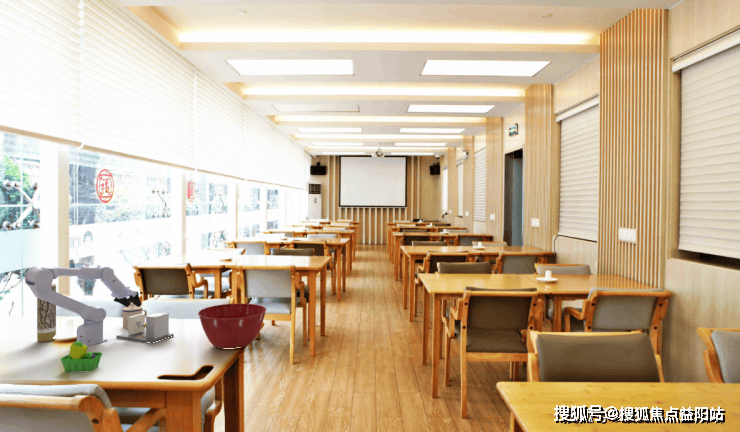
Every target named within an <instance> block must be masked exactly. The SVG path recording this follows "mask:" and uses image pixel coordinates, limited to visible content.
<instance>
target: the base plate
mask: <svg viewBox="0 0 740 432" xmlns="http://www.w3.org/2000/svg"><path fill="white" fill-rule="evenodd" d="M171 336H174V333H171V332H169V335H167V336H164V337H161V338H158V339H155V340H153V339H147V338H146V329H145V331H143V332H139V333H136V334H133V335H130V334H128V332H125V333H121V334H116V339H119V340H125V341H131V342H137V341H140V342H139V343H144V342H150V343H153V342H156V341H159V340H162V339H165V338H168V337H171ZM171 338H172V337H171ZM168 339H169V338H168ZM165 340H166V339H165ZM162 341H163V340H162ZM159 342H160V341H159ZM150 343H149V344H150ZM156 343H157V342H156ZM153 344H154V343H153Z"/></svg>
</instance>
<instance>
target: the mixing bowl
mask: <svg viewBox="0 0 740 432" xmlns="http://www.w3.org/2000/svg"><path fill="white" fill-rule="evenodd" d="M266 312H267V308H266V307H265V306H263V305H260V304H254V303H242V302H241V303H223V304H218V305H217V304H215V305H212V306H207V307H204V308H202V309H201V310H199V311H198V312H197V315H198V316H199V321H200V323H201V327H202V330H203V332H204V335H205V336H206V338H207V339H208V341H209V343H210V344H211V345H212V346H214V347H216V348H217V347H219V348H236V347H243V348H246V347H248V346H249V345H250V344H251V343H253V341H255V340H256V338H257V336H258V335H259V332H260V330H261V327H262V326H263V321H264V318H265V315H266ZM245 346H246V347H245ZM219 348H218V349H219Z"/></svg>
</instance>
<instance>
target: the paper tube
mask: <svg viewBox="0 0 740 432" xmlns="http://www.w3.org/2000/svg"><path fill="white" fill-rule="evenodd" d="M51 289H52V291H55V292H57V284H56V283H52V285H51ZM36 306H37V307H36V315H37V316H36V333H37V334H36V341H37V342H38V343H47V342H52V341H54V340H53V337H54V336H55V335H56V336H57V305H54V304H51V303H49V302H46V301H44V300H41V299H39V298H37V297H36Z"/></svg>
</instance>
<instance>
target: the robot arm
mask: <svg viewBox="0 0 740 432" xmlns="http://www.w3.org/2000/svg"><path fill="white" fill-rule="evenodd" d="M63 276H67V277H68V276H69V277H73V276H74V277H77V278H79V279H80V280H100V281H101V282H102V283H103V285H105V286H106V288H108V289H109V290H110V291H111V294H110V296H111V297H112V298H114V299H113V302H114V303H115V302H116V303H119V304H120V305H123V306H124V307H129V306H130V304H131V303H133V304H134V305H136V306H137V307H140V306H141V307H142V304H143V303H142V301H141V299H140V296H139V295H140V294H139V292H138V291H135V290H132V289H130V288H131V287H130V286H126V285H125V284H124V283H123V282H122V281H121V280H120V278H118V276H117V275H116V274H115V270H114V269H113V268H111V267H110V266H103V265H94V266H93V265H90V264H84V265H81V266H79V267H77V268H76V267H75V268H73V267H60V266H43V267H39V268H38V267H32V268H29V269H27V270H26V271H25V272H24V282H25V284H26V285H27V286H28V287H29V289H30V290H31V291H32V293H33V295H34V296H35V298H36V299H37V298H39V299H41V300H44V301H46V302H49V303H51V304H54V305H56V307H60V308H61V309H65V310H67V311H69V312H72V313H75V314H76V315H78V316H79V317H80V318H81V319H83V323H82V324H81V325H78V326H77V328H76V341H80V342H81V343H82V344H84V345H86V346H87V347H90V346H93V345H97V344H100V343H103V342H107V341H108V338H104V320H105V318H106V317H107V310H106V309H105V308H103V307H96V306H92V305H89V304H86V303H83V302H80V301H78V300H76V299H74V298H71V297H68V296H67V295H64V294H62V293H59V292H57V291H56V292H55V291H52V289H51V285H52V284H53V280H56V279H57V278H59V277H63ZM127 297H129V298H127Z"/></svg>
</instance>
